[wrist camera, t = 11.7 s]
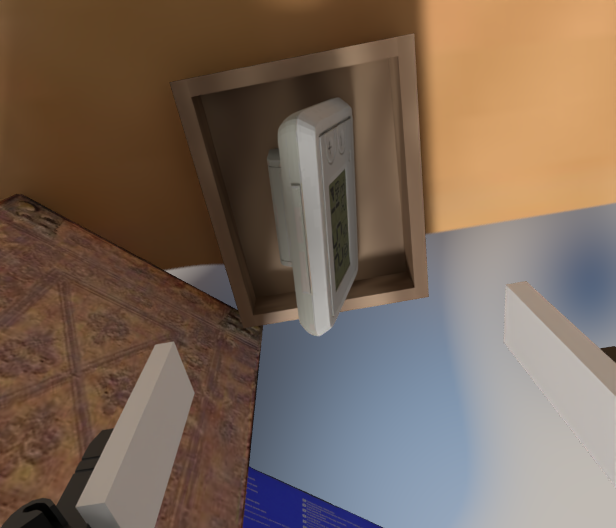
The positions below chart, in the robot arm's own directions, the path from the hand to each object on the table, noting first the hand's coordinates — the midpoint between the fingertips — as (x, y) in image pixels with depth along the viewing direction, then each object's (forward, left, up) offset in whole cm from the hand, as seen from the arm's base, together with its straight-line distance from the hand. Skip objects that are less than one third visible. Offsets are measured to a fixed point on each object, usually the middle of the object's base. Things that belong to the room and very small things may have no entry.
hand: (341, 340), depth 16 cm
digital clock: (-1, +1, -22) cm, 22 cm away
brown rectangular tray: (0, 0, -23) cm, 23 cm away
